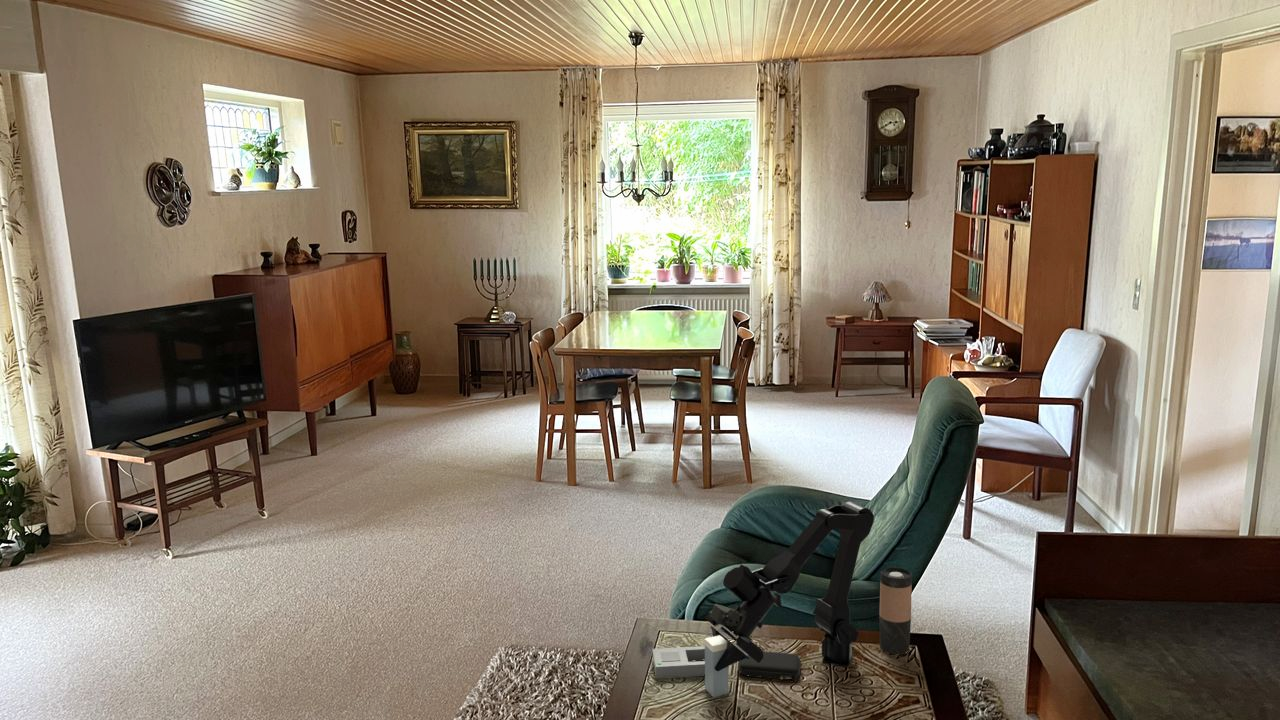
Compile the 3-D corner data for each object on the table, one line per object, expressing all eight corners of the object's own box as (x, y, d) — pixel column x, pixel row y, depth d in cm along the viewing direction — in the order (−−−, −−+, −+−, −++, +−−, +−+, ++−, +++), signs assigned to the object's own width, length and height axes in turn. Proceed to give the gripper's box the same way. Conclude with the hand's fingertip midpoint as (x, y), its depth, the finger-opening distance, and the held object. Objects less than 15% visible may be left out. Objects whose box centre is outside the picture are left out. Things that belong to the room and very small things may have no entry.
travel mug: (914, 655, 218) (916, 578, 215) (883, 655, 218) (884, 579, 215) (905, 640, 226) (907, 566, 223) (875, 641, 226) (876, 567, 223)
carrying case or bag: (736, 680, 209) (799, 685, 206) (736, 668, 208) (799, 673, 205) (740, 658, 219) (801, 663, 216) (740, 647, 219) (801, 652, 216)
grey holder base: (714, 656, 219) (714, 645, 219) (720, 675, 211) (720, 663, 210) (652, 660, 218) (652, 648, 218) (656, 678, 210) (655, 666, 209)
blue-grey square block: (720, 685, 206) (719, 635, 204) (728, 693, 202) (728, 642, 201) (705, 689, 204) (704, 638, 203) (713, 697, 201) (712, 646, 199)
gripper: (711, 578, 210) (670, 631, 207) (752, 608, 193) (708, 666, 190) (740, 602, 214) (700, 655, 212) (782, 634, 197) (740, 691, 195)
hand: (711, 665), depth 202 cm, fingers closed on blue-grey square block, 4 cm apart
